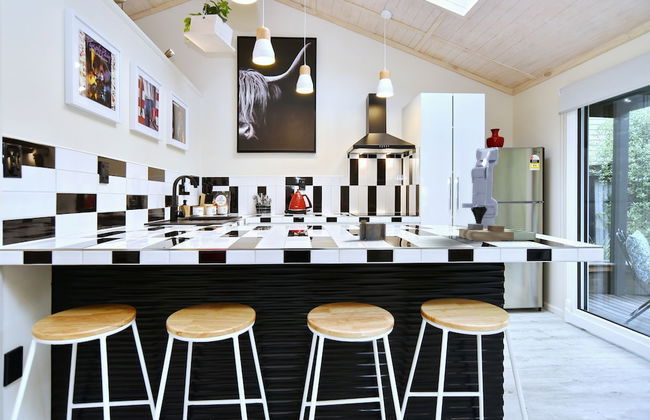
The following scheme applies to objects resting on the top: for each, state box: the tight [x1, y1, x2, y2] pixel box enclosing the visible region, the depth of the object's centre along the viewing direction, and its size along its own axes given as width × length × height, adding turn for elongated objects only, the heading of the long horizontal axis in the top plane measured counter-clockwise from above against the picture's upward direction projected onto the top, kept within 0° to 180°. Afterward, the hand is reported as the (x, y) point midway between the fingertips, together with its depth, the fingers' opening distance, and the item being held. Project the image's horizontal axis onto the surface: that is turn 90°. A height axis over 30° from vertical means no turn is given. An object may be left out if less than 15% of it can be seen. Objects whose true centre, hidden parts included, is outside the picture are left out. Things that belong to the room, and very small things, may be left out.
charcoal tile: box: [467, 223, 483, 230], centre depth 162 cm, size 5×5×2 cm
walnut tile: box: [488, 224, 505, 232], centre depth 155 cm, size 5×5×2 cm
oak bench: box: [458, 228, 514, 242], centre depth 159 cm, size 15×18×4 cm
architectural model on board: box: [359, 219, 387, 241], centre depth 153 cm, size 11×3×10 cm, turn 98°
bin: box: [505, 229, 537, 242], centre depth 159 cm, size 15×10×4 cm, turn 2°
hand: (478, 223), depth 155 cm, fingers closed
